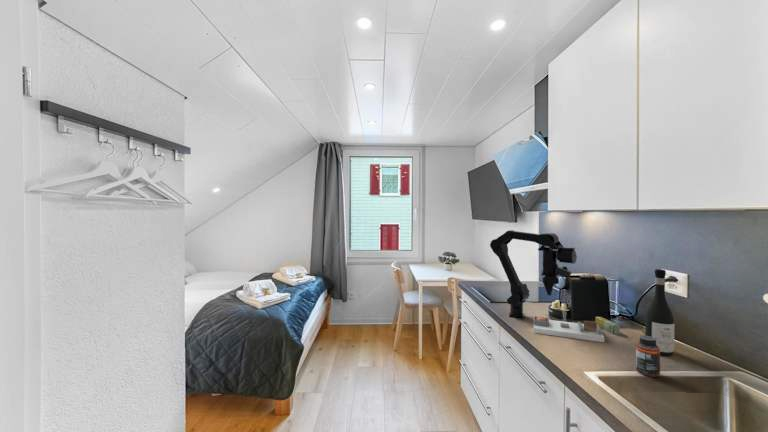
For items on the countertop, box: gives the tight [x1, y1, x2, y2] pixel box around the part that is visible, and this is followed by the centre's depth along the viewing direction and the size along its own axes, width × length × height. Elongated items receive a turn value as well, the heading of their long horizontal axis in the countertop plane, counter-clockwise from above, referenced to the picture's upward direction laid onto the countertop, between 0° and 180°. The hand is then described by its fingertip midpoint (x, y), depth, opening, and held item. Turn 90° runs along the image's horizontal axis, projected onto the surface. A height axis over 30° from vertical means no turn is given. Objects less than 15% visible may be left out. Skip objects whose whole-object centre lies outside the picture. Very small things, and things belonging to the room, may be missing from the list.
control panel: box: [533, 316, 605, 343], centre depth 139 cm, size 14×25×4 cm, turn 66°
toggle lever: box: [561, 310, 568, 322], centre depth 140 cm, size 2×2×4 cm
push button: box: [536, 316, 547, 321], centre depth 143 cm, size 4×4×2 cm
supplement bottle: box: [635, 335, 661, 378], centre depth 103 cm, size 6×6×11 cm
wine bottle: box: [644, 268, 675, 356], centre depth 119 cm, size 8×8×30 cm
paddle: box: [583, 320, 597, 332], centre depth 133 cm, size 1×4×4 cm, turn 66°
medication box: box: [594, 316, 621, 336], centre depth 141 cm, size 12×3×4 cm, turn 1°
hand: (549, 295), depth 148 cm, fingers closed
